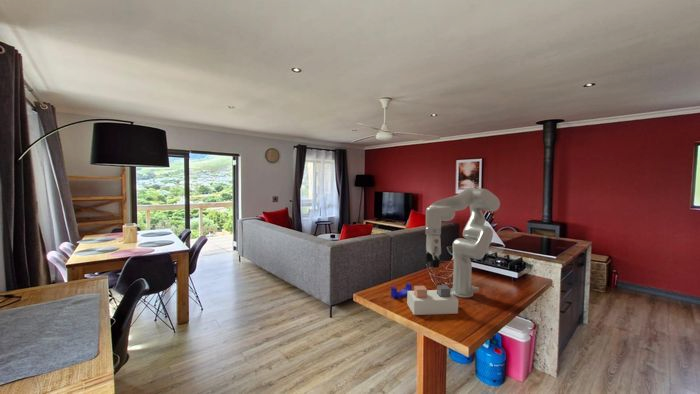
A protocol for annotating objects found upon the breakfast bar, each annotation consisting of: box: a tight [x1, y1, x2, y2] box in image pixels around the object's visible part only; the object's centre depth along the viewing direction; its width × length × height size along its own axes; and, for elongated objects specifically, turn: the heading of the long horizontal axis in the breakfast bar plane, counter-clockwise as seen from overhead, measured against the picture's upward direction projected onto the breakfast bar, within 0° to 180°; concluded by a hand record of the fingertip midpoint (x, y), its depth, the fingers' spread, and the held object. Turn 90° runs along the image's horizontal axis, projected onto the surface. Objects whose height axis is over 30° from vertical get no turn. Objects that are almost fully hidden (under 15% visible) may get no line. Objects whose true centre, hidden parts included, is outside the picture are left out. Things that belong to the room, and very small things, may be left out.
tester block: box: [406, 289, 459, 316], centre depth 145 cm, size 22×12×7 cm, turn 95°
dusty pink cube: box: [413, 285, 428, 298], centre depth 144 cm, size 5×5×6 cm
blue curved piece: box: [390, 282, 413, 300], centre depth 160 cm, size 12×4×6 cm, turn 118°
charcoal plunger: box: [436, 284, 451, 297], centre depth 145 cm, size 5×5×6 cm
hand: (432, 264), depth 147 cm, fingers open, 9 cm apart
